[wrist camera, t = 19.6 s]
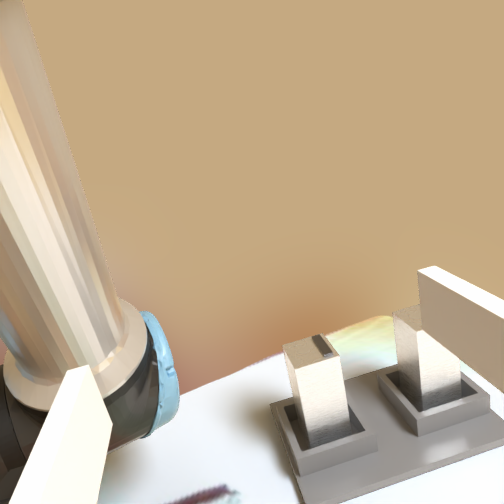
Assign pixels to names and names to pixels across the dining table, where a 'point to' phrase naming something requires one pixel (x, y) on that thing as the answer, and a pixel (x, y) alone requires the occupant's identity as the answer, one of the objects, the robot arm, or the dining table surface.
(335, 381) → the billet
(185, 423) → the dining table surface
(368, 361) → the dining table surface
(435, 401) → the billet
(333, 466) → the pallet
